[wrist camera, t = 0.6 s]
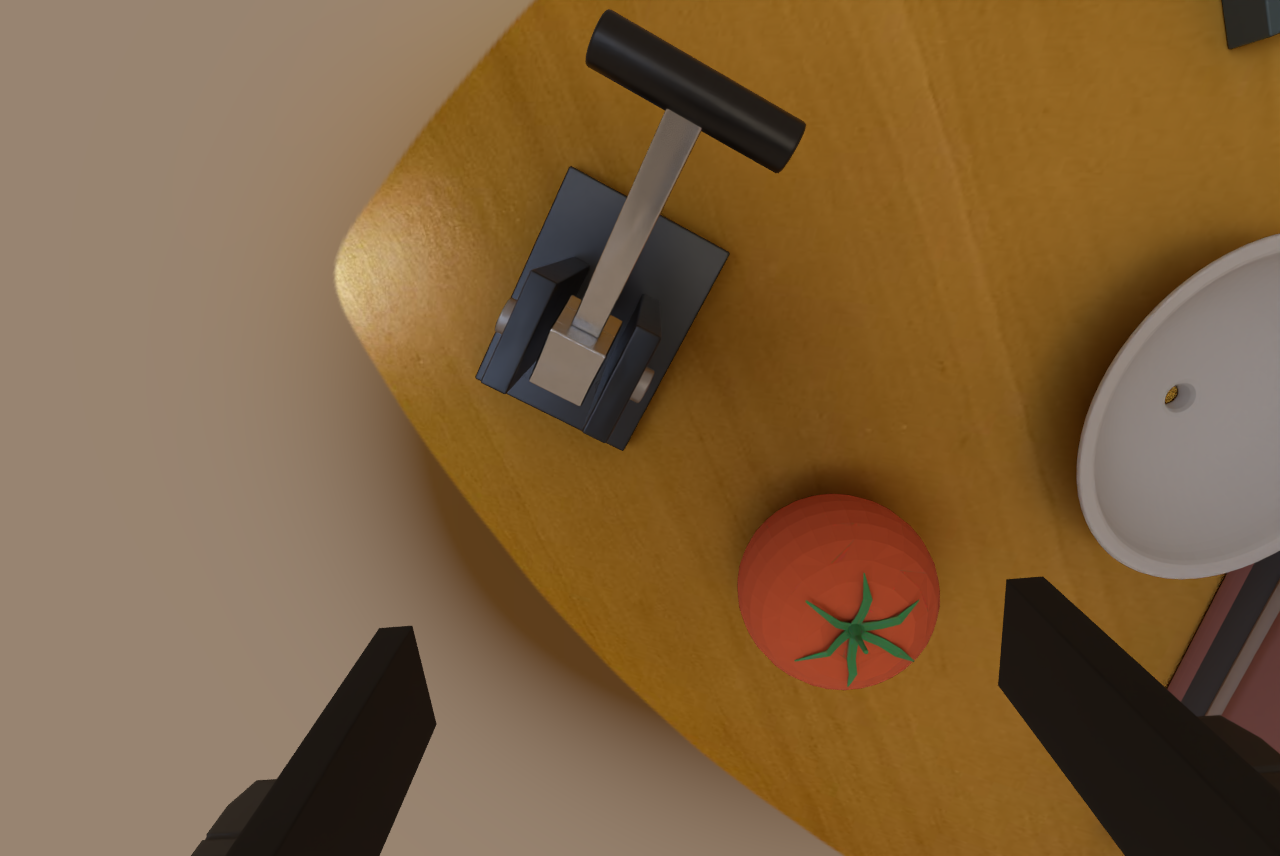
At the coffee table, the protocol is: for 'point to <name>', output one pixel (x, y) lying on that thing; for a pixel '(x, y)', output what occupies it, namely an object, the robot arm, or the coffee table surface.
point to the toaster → (1238, 653)
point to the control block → (1250, 20)
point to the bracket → (647, 305)
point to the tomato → (838, 591)
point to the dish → (1192, 427)
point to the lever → (653, 180)
